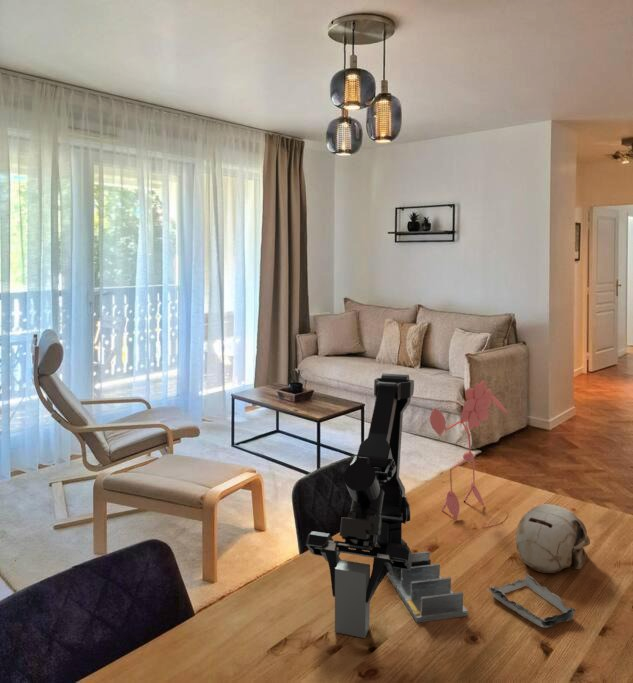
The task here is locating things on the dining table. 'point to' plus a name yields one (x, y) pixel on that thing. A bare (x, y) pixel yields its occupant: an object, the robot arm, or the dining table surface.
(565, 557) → the coin bank
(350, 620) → the block
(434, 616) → the rack
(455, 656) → the dining table surface
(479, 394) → the figurine
